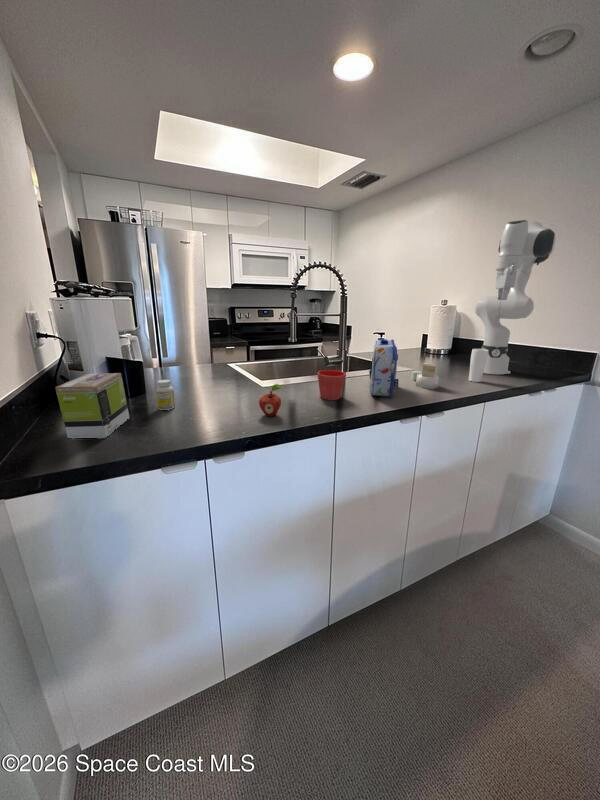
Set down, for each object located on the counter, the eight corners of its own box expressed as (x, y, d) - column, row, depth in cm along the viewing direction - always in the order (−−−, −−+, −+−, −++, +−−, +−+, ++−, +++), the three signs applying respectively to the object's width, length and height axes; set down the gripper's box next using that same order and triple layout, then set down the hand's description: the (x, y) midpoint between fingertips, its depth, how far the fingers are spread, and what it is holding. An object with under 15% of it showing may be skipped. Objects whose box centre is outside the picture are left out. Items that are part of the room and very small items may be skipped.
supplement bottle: (167, 412, 104) (163, 383, 101) (154, 409, 106) (151, 382, 103) (178, 407, 109) (175, 380, 106) (166, 405, 111) (163, 378, 108)
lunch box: (397, 402, 118) (404, 342, 111) (369, 400, 120) (374, 341, 113) (392, 384, 143) (397, 334, 137) (369, 382, 145) (373, 334, 139)
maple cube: (422, 374, 142) (423, 363, 141) (434, 375, 140) (435, 364, 139) (421, 376, 138) (423, 365, 136) (434, 377, 136) (435, 366, 134)
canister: (416, 383, 146) (417, 372, 144) (437, 385, 143) (439, 374, 141) (414, 387, 138) (416, 376, 137) (437, 390, 135) (438, 378, 133)
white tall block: (478, 379, 153) (484, 348, 149) (485, 383, 147) (491, 350, 142) (464, 379, 154) (469, 348, 150) (470, 382, 148) (476, 350, 143)
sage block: (410, 378, 154) (411, 370, 153) (418, 378, 154) (419, 370, 152) (412, 380, 150) (413, 372, 149) (421, 381, 150) (422, 372, 149)
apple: (272, 420, 98) (271, 389, 95) (255, 416, 101) (254, 386, 98) (286, 413, 104) (286, 384, 101) (269, 409, 108) (269, 381, 105)
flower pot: (347, 395, 125) (349, 371, 122) (339, 403, 116) (340, 377, 113) (322, 392, 129) (323, 368, 126) (312, 399, 120) (313, 374, 117)
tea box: (96, 419, 97) (87, 372, 93) (130, 418, 98) (123, 372, 93) (66, 440, 83) (53, 385, 78) (106, 439, 84) (96, 385, 79)
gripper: (524, 261, 119) (516, 300, 123) (512, 266, 137) (505, 300, 141) (504, 262, 121) (497, 300, 126) (495, 267, 139) (489, 299, 144)
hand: (501, 300), depth 134 cm, fingers open, 8 cm apart
